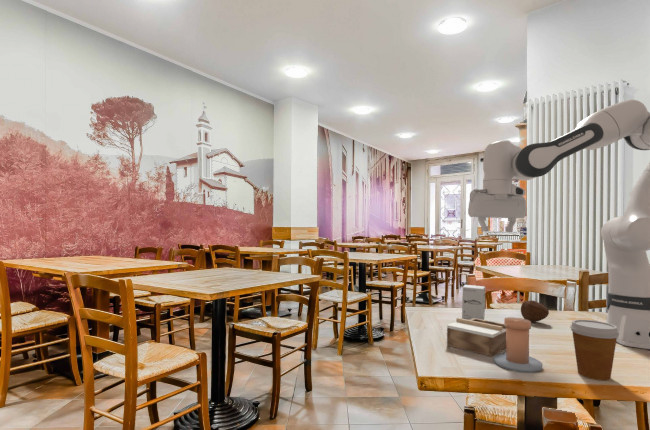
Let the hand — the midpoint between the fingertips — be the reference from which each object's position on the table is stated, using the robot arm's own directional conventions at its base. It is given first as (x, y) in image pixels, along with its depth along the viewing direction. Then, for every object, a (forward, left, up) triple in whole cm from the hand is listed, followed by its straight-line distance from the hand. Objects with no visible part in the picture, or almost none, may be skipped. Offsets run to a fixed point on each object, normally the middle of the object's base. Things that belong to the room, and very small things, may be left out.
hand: (497, 231), depth 126 cm
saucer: (-15, +26, -33) cm, 45 cm away
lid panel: (-2, +22, -28) cm, 36 cm away
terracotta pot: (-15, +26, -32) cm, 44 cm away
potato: (-4, -25, -33) cm, 42 cm away
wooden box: (-2, +16, -33) cm, 37 cm away
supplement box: (+12, -10, -33) cm, 37 cm away
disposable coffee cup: (-30, +20, -33) cm, 49 cm away
